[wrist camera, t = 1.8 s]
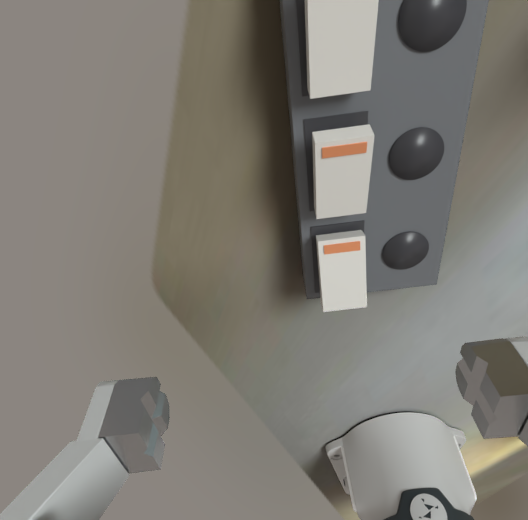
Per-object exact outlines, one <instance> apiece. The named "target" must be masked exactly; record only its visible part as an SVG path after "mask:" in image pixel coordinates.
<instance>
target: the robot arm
mask: <svg viewBox="0 0 528 520" xmlns="http://www.w3.org/2000/svg"><path fill="white" fill-rule="evenodd" d="M460 353H461V355H462V357H463V359H462V360H461V361H459V362H458V363H457V367H456V381H457V384H458V387H459V390H460V392H461V394H462V397H463V399H465V400H466V401H468V402H469V403H470V404H472V405H473V410H472V413H471V415H472V417H473V419H474V421H475V423H476V425H477V427H478V429H479V431H480V433H481V435H482V437H483V439H486V438H501V437H515V436H519V439H520V440H521V441H522V442H524V443H525V444H526V445H527V446H528V338H527V337H515V338H507V339H503V338H502V339H494V340H486V341H477V342H469V343H465V344H464V345H463V346H462V348H461V351H460ZM160 385H161V384H160V382H159V380H158V378H157V377H150V378H138V379H126V380H114V381H105V382H100V383H99V384H98V385H97V387H96V388H95V391H94V394H93V396H92V399H91V402H90V404H89V407H88V410H87V413H86V416H85V418H84V421H83V424H82V427H81V429H80V432H79V435H78V438H77V440H76V441H71V442H70V443H69V444H68V445H67V446H66V447H65V448H64V449H63V450H62V451H61V452H60V453H59V454H58V455H57V456H56V457H55V458H54V459H53V460H52V461H51V462H50V463H49V464H48V466H46V467H45V468H44V470H42V471H41V473H40V474H39V475H38V476H37V477H36V478H35V479H34V480H33V481H32V482H31V483H30V484H29V485H28V486H27V487H26V488H25V489H24V490H23V491H22V492H21V493H20V494H19V495H18V496H17V497H16V498H15V499H14V500H13V501H12V503H10V504H9V505H8V506H7V507H6V508H5V510H3V512H2V513H1V514H0V520H99V519H100V517H101V516H102V515H103V513H104V512H105V510H106V509H107V507H108V506H109V504H110V503H111V502H112V500H113V499H114V497H115V496H116V494H117V493H118V491H119V490H120V488H121V487H122V486H123V484H124V483H125V481H126V479H127V478H128V477H129V473H137V472H144V471H152V470H160V469H161V464H162V458H163V453H164V447H165V444H164V442H163V440H162V438H161V436H162V435H163V434H164V432H165V431H166V430H167V429H168V424H169V403H168V400H167V397H166V395H165V394H164V393H162V392H161V391H159V390H160ZM465 442H466V437H465V434H464V432H463V431H461V430H458V429H455V428H451V427H448V426H447V425H446V424H445V423H444V422H442V421H441V420H440V419H438V418H436V417H434V416H431V415H427V414H422V413H411V412H406V413H394V414H388V415H384V416H380V417H376V418H373V419H370V420H368V421H366V422H363V423H361V424H360V425H358V426H356V427H355V428H353V429H352V430H351V431H350V432H348V433H347V434H346V435H345V436H343V437H342V438H340V439H337V440H335V441H333V442H331V443H329V444H327V445H326V447H325V448H326V452H327V455H328V457H329V459H330V461H331V464H332V466H333V468H334V470H335V472H336V474H337V476H338V478H339V480H340V482H341V485H342V487H343V489H344V491H345V493H346V494H349V495H350V497H351V502H352V506H353V510H354V511H355V512H357V514H358V516H359V518H360V519H361V520H474V519H473V517H472V516H471V515H470V512H471V509H472V508H473V506H474V504H475V501H476V500H477V497H476V493H475V490H474V487H473V484H472V481H471V479H470V476H469V473H468V470H467V468H466V465H465V462H464V460H463V457H462V454H461V452H460V449H461V447H462V446H463V445H464V443H465Z"/></svg>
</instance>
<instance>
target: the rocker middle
mask: <svg viewBox="0 0 528 520" xmlns="http://www.w3.org/2000/svg"><path fill="white" fill-rule="evenodd" d="M374 136H375V135H374V133H373V131H372V128H371V126H370V124H368V125H360V126H353V127H346V128H338V129H331V130H323V131H316V132H312V145H313V182H314V209H315V214H316V219H322V218H330V217H338V216H346V215H354V214H362V213H366V210H367V201H368V192H369V182H370V173H371V164H372V155H373V145H374Z"/></svg>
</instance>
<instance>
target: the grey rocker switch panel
mask: <svg viewBox="0 0 528 520" xmlns="http://www.w3.org/2000/svg"><path fill="white" fill-rule="evenodd" d="M279 1H280V13H281V25H282V36H283V48H284V60H285V71H286V83H287V95H288V106H289V118H290V130H291V141H292V153H293V165H294V176H295V188H296V200H297V211H298V223H299V235H300V246H301V258H302V270H303V279H304V285H305V291H306V296H307V299H313V298H321V295H320V283H319V270H318V258H317V245H316V235H323V234H331V233H339V232H347V231H356V230H362V231H363V233H364V234H365V241H366V286H367V292H374V291H383V290H392V289H400V288H409V287H418V286H427V285H435V284H437V279H438V274H439V268H440V263H441V258H442V252H443V247H444V241H445V236H446V230H447V225H448V219H449V214H450V208H451V203H452V198H453V192H454V187H455V181H456V176H457V170H458V165H459V159H460V154H461V148H462V143H463V138H464V132H465V127H466V121H467V116H468V110H469V105H470V99H471V94H472V88H473V83H474V78H475V72H476V67H477V61H478V56H479V50H480V45H481V39H482V34H483V28H484V23H485V18H486V12H487V7H488V1H489V0H379V3H378V14H377V25H376V36H375V47H374V58H373V69H372V80H371V90H370V91H363V92H356V93H349V94H342V95H335V96H327V97H320V98H313V99H310V96H309V92H308V88H307V58H306V28H305V0H279ZM368 124H370V126H371V128H372V131H373V133H374V135H375V136H374V145H373V155H372V164H371V173H370V182H369V192H368V201H367V210H366V213H362V214H354V215H346V216H338V217H330V218H322V219H316V214H315V209H314V182H313V145H312V132H316V131H323V130H331V129H338V128H346V127H353V126H360V125H368Z"/></svg>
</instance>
